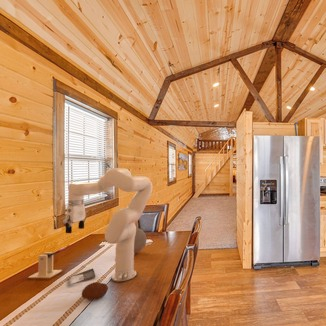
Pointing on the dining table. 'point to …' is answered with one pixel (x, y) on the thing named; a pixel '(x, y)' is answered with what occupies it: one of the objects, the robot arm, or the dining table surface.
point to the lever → (56, 252)
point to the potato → (94, 291)
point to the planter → (139, 240)
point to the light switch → (86, 275)
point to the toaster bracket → (45, 267)
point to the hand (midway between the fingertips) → (75, 230)
